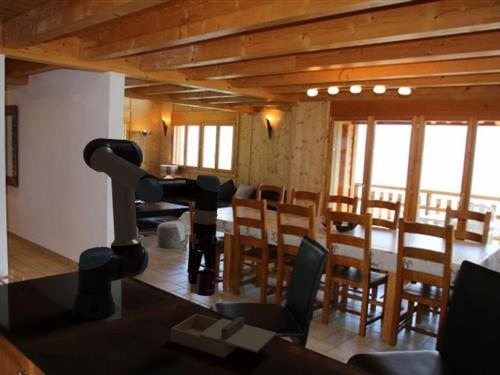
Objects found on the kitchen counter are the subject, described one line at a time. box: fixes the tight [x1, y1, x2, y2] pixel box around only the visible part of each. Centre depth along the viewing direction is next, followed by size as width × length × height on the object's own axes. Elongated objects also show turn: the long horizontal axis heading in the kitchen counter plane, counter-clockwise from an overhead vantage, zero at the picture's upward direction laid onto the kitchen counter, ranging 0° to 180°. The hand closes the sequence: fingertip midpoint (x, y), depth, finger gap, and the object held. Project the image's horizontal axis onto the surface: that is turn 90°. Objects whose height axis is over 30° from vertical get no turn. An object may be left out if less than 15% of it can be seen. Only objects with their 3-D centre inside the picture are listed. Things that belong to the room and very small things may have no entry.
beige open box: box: [169, 313, 238, 359], centre depth 144 cm, size 20×15×4 cm
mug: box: [187, 269, 217, 297], centre depth 145 cm, size 7×10×7 cm
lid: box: [199, 316, 277, 353], centre depth 139 cm, size 20×15×4 cm
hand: (200, 290), depth 145 cm, fingers closed on mug, 7 cm apart
